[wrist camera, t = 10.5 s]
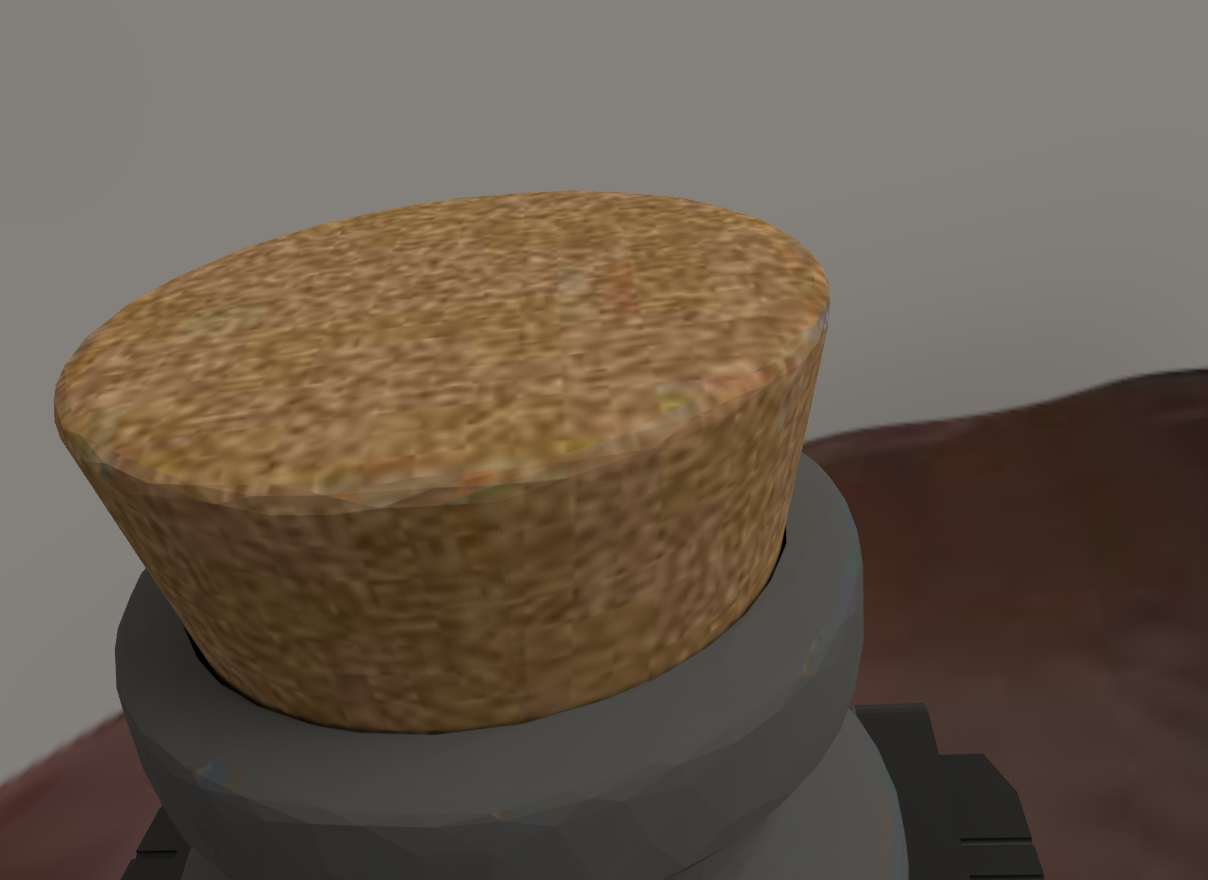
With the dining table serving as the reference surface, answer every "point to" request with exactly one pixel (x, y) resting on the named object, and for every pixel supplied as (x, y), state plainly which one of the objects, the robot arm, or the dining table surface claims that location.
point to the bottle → (489, 551)
